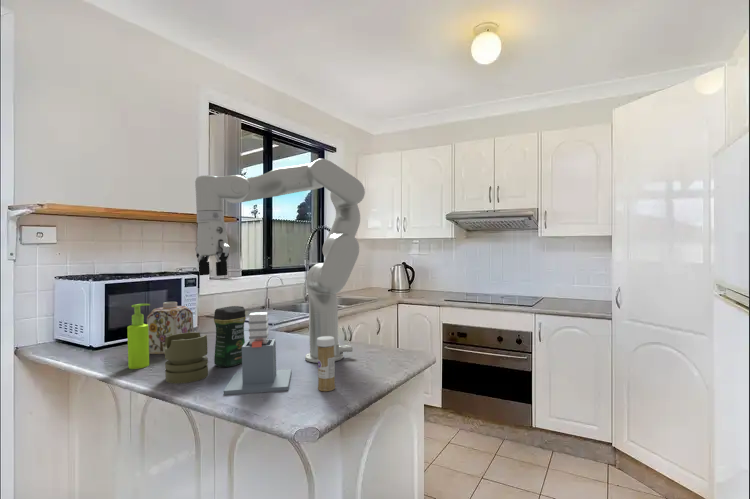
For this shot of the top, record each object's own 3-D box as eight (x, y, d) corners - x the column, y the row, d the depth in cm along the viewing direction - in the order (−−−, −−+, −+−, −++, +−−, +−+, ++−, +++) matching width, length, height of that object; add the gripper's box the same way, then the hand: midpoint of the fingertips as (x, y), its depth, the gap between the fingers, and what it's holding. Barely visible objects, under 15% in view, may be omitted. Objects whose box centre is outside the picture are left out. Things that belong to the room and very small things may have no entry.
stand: (291, 372, 125) (290, 331, 125) (287, 390, 109) (286, 343, 109) (235, 375, 123) (234, 334, 122) (223, 394, 107) (222, 346, 107)
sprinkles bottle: (314, 389, 109) (313, 337, 109) (327, 385, 113) (325, 334, 112) (326, 393, 106) (325, 340, 106) (339, 388, 110) (338, 336, 110)
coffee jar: (226, 369, 130) (225, 309, 130) (210, 366, 134) (208, 307, 134) (251, 361, 138) (249, 305, 138) (235, 358, 142) (233, 304, 142)
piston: (171, 342, 115) (159, 336, 123) (172, 386, 115) (160, 377, 123) (213, 335, 122) (198, 330, 130) (214, 376, 122) (199, 369, 131)
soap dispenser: (156, 364, 138) (154, 303, 138) (136, 369, 131) (134, 305, 131) (144, 362, 140) (142, 302, 140) (124, 367, 134) (122, 305, 134)
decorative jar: (166, 346, 163) (165, 300, 163) (195, 347, 161) (193, 300, 161) (146, 354, 151) (144, 304, 151) (176, 355, 149) (174, 304, 149)
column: (269, 375, 118) (268, 311, 118) (267, 380, 114) (266, 314, 114) (252, 376, 118) (251, 312, 118) (250, 382, 113) (248, 315, 113)
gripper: (238, 216, 123) (240, 274, 123) (207, 220, 134) (209, 273, 134) (214, 215, 117) (217, 276, 117) (183, 219, 128) (186, 275, 128)
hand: (213, 275), depth 125 cm, fingers open, 9 cm apart
